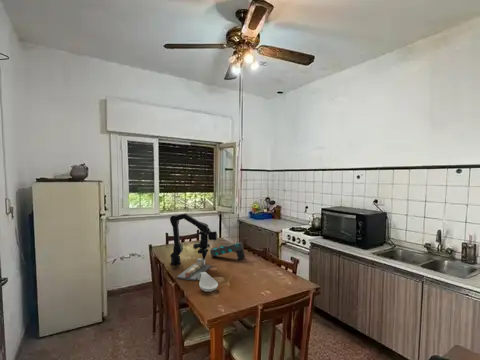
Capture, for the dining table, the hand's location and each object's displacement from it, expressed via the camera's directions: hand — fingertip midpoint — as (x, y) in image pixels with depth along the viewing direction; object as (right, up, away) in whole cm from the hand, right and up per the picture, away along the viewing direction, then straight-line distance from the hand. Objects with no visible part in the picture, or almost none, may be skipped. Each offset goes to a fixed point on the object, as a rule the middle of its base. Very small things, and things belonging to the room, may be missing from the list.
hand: (204, 259), depth 210 cm
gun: (+18, -5, +19) cm, 26 cm away
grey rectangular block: (-2, -3, -5) cm, 6 cm away
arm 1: (-6, -4, -18) cm, 19 cm away
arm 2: (-4, -4, -18) cm, 19 cm away
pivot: (-1, -4, -5) cm, 6 cm away
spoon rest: (+7, -6, -40) cm, 41 cm away
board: (-5, -5, -16) cm, 17 cm away
